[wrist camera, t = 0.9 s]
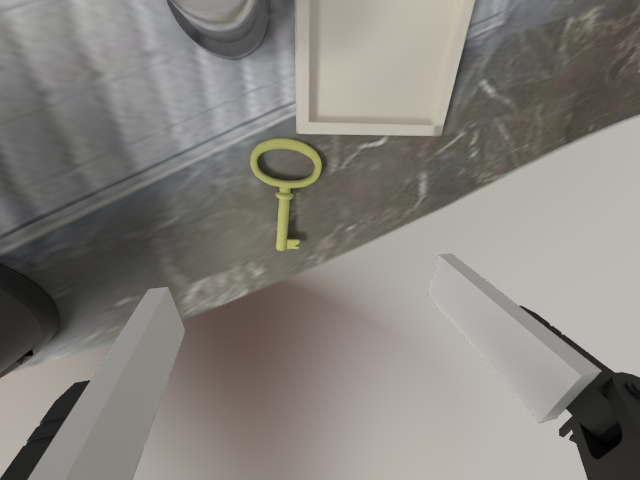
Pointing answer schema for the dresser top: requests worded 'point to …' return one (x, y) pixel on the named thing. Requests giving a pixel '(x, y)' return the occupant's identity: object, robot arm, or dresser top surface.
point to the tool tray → (377, 64)
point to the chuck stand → (223, 24)
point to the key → (285, 183)
